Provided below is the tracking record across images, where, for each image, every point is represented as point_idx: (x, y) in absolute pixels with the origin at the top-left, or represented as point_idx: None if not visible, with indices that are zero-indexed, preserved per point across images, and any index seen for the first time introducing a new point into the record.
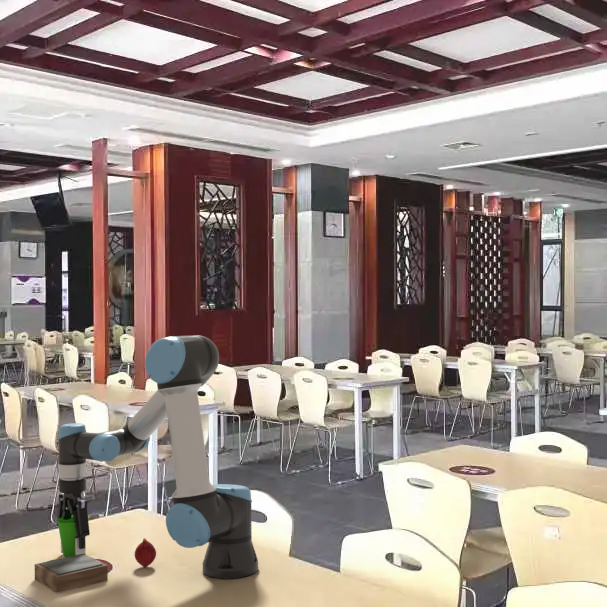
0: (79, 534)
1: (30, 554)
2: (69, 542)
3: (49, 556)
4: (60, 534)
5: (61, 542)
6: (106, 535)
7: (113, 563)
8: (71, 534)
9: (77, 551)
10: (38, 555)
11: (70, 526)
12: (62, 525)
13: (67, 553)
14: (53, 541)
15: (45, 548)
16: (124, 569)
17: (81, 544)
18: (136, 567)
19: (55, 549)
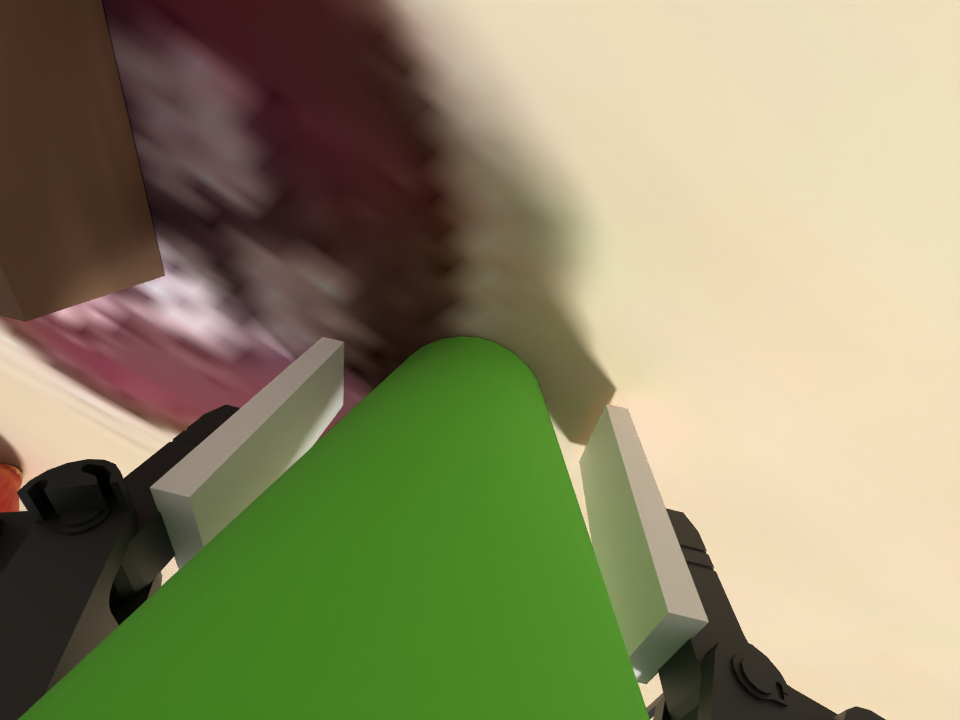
0: (36, 542)
1: (956, 249)
2: (337, 426)
3: (681, 316)
4: (462, 482)
5: (488, 408)
6: (649, 690)
7: (165, 438)
8: (230, 524)
9: (275, 383)
10: (825, 277)
11: (37, 702)
12: (165, 713)
13: (422, 356)
14: (937, 563)
15: (895, 440)
16: (14, 398)
17: (178, 443)
18: (29, 448)
19: (774, 458)
